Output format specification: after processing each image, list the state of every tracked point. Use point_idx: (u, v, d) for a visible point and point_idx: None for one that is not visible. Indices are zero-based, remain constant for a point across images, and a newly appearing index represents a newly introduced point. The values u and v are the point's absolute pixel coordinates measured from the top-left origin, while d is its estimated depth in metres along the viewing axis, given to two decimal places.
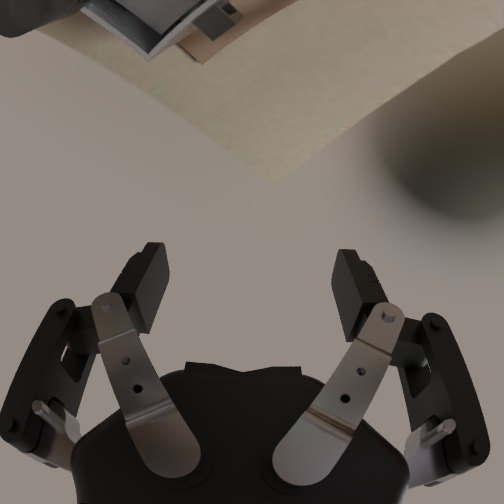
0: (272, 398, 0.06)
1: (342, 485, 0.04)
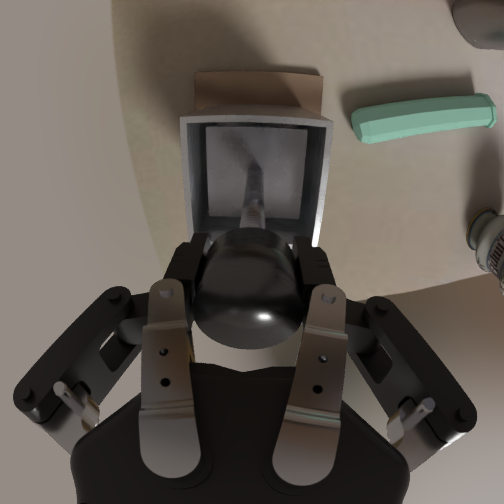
0: (272, 398, 0.06)
1: (342, 485, 0.04)
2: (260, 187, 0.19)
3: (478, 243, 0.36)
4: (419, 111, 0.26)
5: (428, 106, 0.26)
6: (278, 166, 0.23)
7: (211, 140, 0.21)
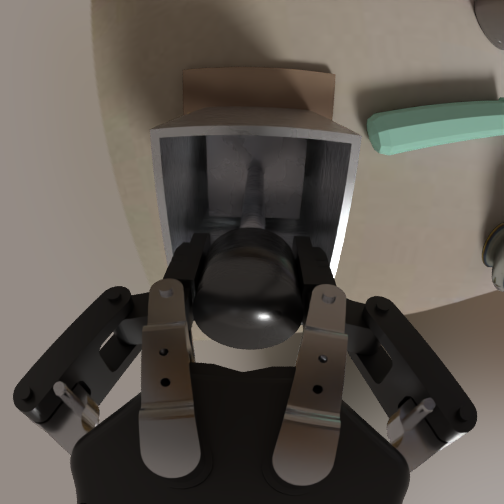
0: (272, 398, 0.06)
1: (342, 485, 0.04)
2: (260, 187, 0.19)
3: (495, 262, 0.31)
4: (444, 118, 0.22)
5: (453, 112, 0.21)
6: (278, 166, 0.23)
7: (211, 140, 0.21)
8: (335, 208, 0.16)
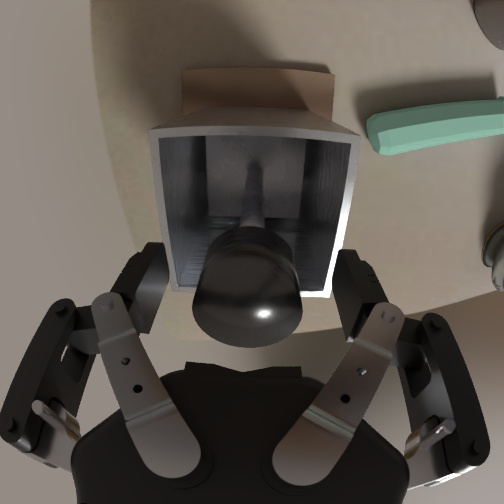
0: (272, 398, 0.06)
1: (342, 486, 0.04)
2: (260, 187, 0.19)
3: (495, 262, 0.31)
4: (444, 117, 0.22)
5: (453, 112, 0.21)
6: (278, 166, 0.23)
7: (211, 140, 0.22)
8: (335, 208, 0.16)
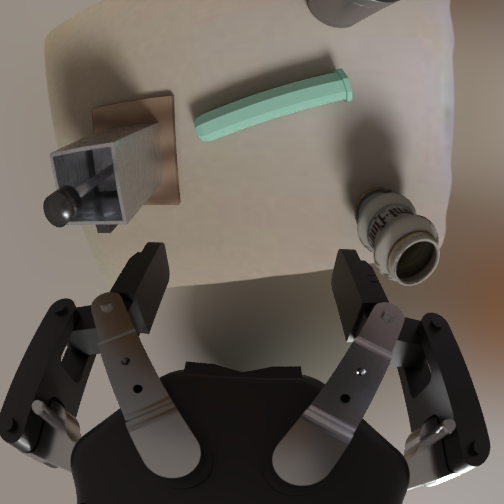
0: (272, 398, 0.06)
1: (341, 486, 0.04)
2: (103, 172, 0.33)
3: (357, 223, 0.46)
4: (248, 104, 0.36)
5: (259, 97, 0.36)
6: None
7: (94, 150, 0.36)
8: None
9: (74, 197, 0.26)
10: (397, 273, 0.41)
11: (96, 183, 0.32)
